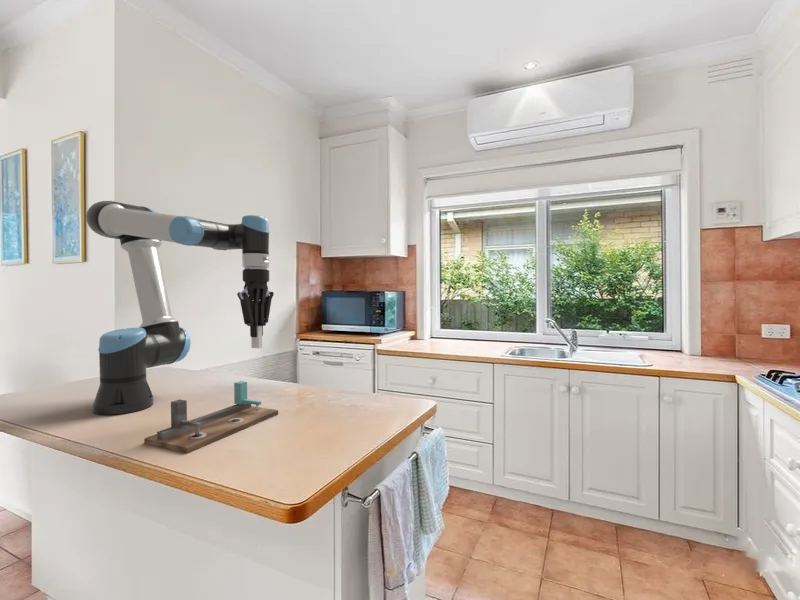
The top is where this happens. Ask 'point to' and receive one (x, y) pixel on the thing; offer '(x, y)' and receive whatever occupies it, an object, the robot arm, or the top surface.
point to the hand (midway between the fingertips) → (256, 347)
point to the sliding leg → (243, 395)
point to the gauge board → (206, 426)
